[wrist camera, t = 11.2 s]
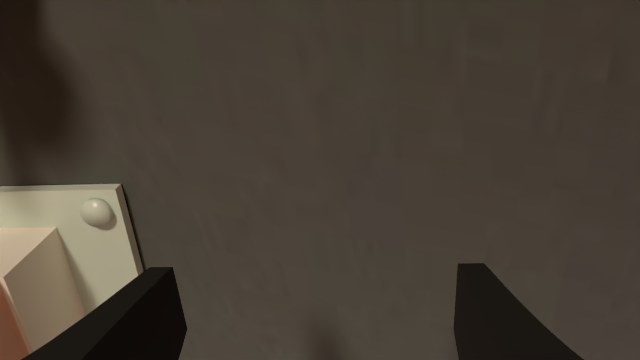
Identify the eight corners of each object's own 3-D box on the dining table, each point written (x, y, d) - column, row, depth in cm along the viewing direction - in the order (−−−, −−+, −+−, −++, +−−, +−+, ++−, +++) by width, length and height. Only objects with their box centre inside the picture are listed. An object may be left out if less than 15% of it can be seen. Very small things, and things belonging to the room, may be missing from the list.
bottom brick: (97, 350, 28) (58, 411, 24) (13, 349, 28) (-38, 409, 24) (56, 227, 24) (3, 277, 21) (-39, 228, 25) (-107, 277, 21)
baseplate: (169, 369, 29) (162, 383, 28) (-24, 367, 30) (-36, 380, 29) (120, 183, 23) (111, 193, 23) (-111, 188, 25) (-129, 198, 24)
